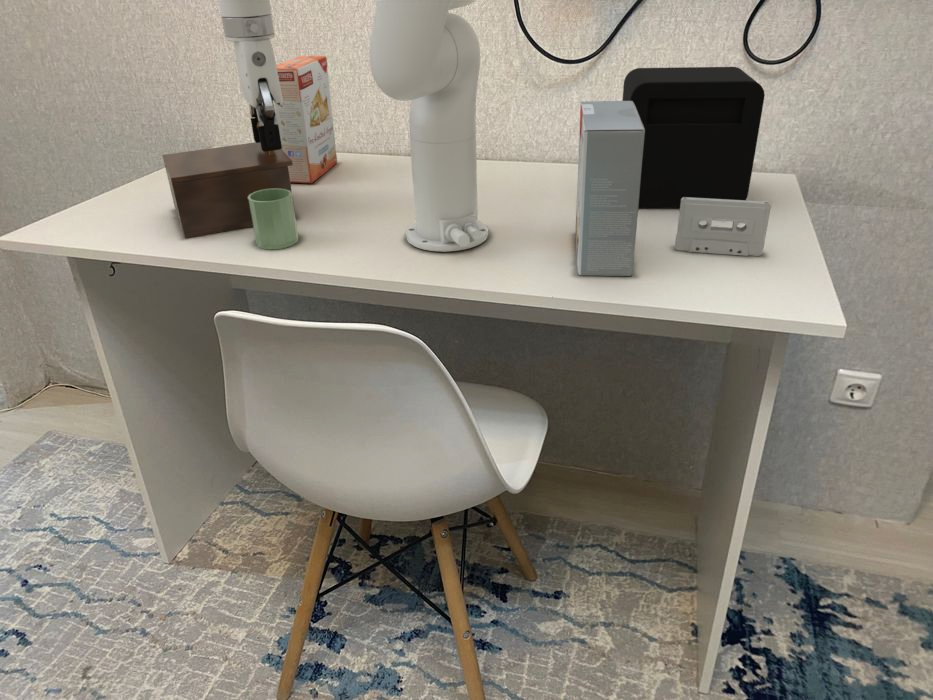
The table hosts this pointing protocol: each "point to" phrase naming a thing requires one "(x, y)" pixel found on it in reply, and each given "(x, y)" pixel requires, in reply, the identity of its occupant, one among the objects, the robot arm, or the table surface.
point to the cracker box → (306, 117)
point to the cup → (273, 218)
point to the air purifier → (695, 132)
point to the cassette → (722, 238)
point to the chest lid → (222, 161)
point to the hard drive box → (608, 187)
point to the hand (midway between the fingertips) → (267, 144)
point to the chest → (222, 199)
